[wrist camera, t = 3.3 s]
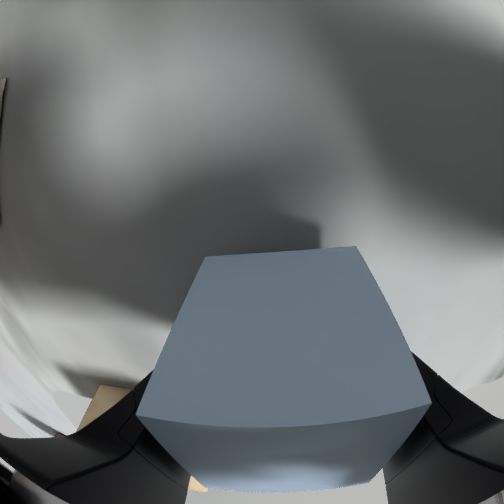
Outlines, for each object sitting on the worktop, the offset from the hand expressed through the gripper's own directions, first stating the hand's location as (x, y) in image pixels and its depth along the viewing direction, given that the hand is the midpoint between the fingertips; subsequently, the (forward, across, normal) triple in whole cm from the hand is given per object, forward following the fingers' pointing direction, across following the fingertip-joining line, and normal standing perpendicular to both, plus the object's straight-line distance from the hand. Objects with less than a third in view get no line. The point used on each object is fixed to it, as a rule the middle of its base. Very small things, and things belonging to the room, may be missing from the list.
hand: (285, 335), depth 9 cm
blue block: (+1, 0, 0) cm, 1 cm away
